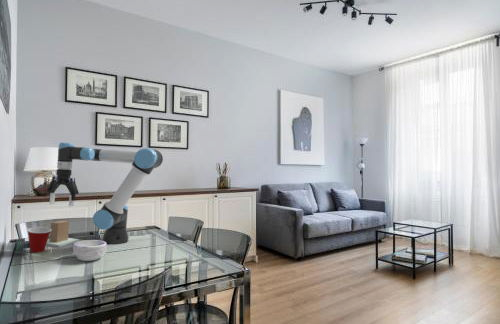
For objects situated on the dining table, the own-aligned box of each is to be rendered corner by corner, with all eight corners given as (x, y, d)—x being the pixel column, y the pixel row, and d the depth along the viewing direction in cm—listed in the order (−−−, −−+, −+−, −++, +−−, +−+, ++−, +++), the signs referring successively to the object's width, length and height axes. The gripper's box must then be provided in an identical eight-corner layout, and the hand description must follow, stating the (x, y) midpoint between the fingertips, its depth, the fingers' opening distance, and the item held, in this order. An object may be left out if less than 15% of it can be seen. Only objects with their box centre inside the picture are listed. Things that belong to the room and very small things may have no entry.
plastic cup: (37, 255, 155) (39, 232, 156) (19, 253, 158) (21, 229, 158) (55, 250, 166) (56, 228, 166) (38, 248, 168) (40, 226, 168)
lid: (79, 241, 186) (80, 221, 186) (58, 246, 171) (60, 225, 172) (58, 238, 190) (60, 218, 190) (36, 243, 175) (38, 222, 175)
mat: (85, 241, 188) (85, 240, 188) (58, 249, 168) (58, 248, 168) (58, 237, 192) (58, 236, 193) (29, 244, 173) (29, 244, 173)
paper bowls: (112, 257, 161) (113, 241, 162) (88, 265, 147) (89, 248, 147) (89, 252, 166) (90, 237, 167) (64, 259, 152) (65, 243, 152)
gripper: (41, 167, 181) (38, 203, 180) (77, 170, 175) (74, 207, 174) (52, 167, 188) (49, 202, 187) (87, 170, 182) (84, 206, 182)
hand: (61, 205), depth 181 cm, fingers open, 13 cm apart
